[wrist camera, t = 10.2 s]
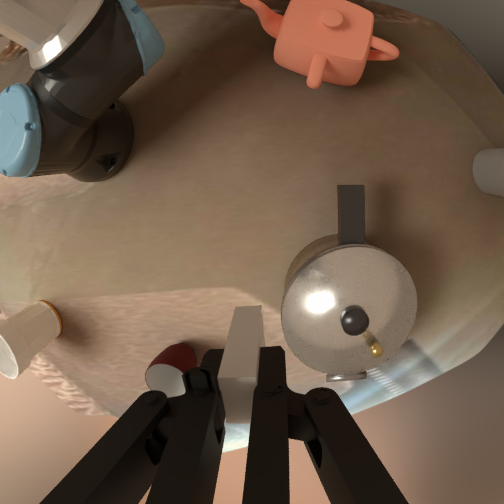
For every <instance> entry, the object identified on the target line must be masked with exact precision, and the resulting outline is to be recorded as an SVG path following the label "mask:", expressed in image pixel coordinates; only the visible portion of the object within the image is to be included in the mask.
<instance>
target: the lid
mask: <svg viewBox="0 0 504 504" xmlns="http://www.w3.org/2000/svg"><path fill="white" fill-rule="evenodd" d="M416 313H417V294H416V289H415V285H414V283H413V280H412V278H411V276H410V274H409V273H408V271H407V270H406V269H405V267H404V266H403V265H402V264H401V263H400V262H399V261H398V260H396V259H395V258H394V257H392V256H391V255H389V254H388V253H386V252H384V251H382V250H379V249H376V248H373V247H368V246H345V247H341V248H336V249H333V250H331V251H328V252H326V253H324V254H322V255H320V256H318V257H317V258H315V259H314V260H312V261H311V262H309V263H308V264H307V265H306V266H305V267H304V268H303V269H302V270H301V271H300V272H299V273H298V274H297V276H296V277H295V278H294V280H293V281H292V283H291V285H290V287H289V289H288V291H287V293H286V296H285V299H284V302H283V308H282V329H283V333H284V337H285V340H286V342H287V344H288V346H289V348H290V349H291V351H292V352H293V353H294V355H295V356H296V357H297V358H298V359H299V360H300V361H301V362H302V363H304V364H305V365H307V366H308V367H310V368H312V369H314V370H317V371H319V372H322V373H327V375H326V381H327V382H335V381H347V380H358V379H366V378H367V373H366V371H367V370H370V369H372V368H374V367H376V366H378V365H380V364H381V363H383V362H384V361H386V360H387V359H389V358H390V357H391V356H392V355H393V354H394V353H395V352H396V351H397V350H398V349H399V348H400V347H401V346H402V345H403V343H404V342H405V340H406V339H407V337H408V336H409V334H410V332H411V330H412V327H413V324H414V322H415V318H416Z"/></svg>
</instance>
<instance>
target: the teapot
mask: <svg viewBox="0 0 504 504" xmlns="http://www.w3.org/2000/svg"><path fill="white" fill-rule="evenodd" d="M240 2H241V3H243V4H244V5H246V6H248V7H250V8H252V9H253V10H254V11H255V12H256V13H257V15H258V17H259V19H260V22H261V25H262V27H263V29H264V30H265V31H266V32H267V33H268V34H269V35H270V36H272V37H274V38H275V39H276V44H275V48H274V60H275V62H276V63H277V64H278V65H280V66H281V67H283V68H286V69H288V70H290V71H293V72H295V73H298V74H301V75H303V76H306V77H307V80H306V83H307V85H308V86H309V87H310V88H313V89H316V88H318V87H319V86H320V85H321V82H322V81H323V82H328V83H332V84H337V85H343V86H352V85H355V84H356V83H357V82H358V81H359V79H360V78H361V76H362V74H363V71H364V68H365V65H366V61H367V60H377V61H387V60H394V59H396V58H398V56H399V50H398V48H397V47H396V46H394V45H393V44H391V43H389V42H387V41H385V40H382V39H380V38H378V37H375V36H372V33H373V25H374V15H373V13H372V12H370V11H369V10H367V9H365V8H363V7H361V6H358V5H356V4H354V3H351V2H349V1H346V0H291V1H290V3H289V5H288V7H287V10H286V12H285V14H284V16H282V15H279V14H277V13H275V12H273V11H272V10H271V9H270V8H269V7H268V6H267V5H265V4H264V3H263V2H261V1H259V0H240ZM370 47H373V48H375V49H378V50H370Z"/></svg>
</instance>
